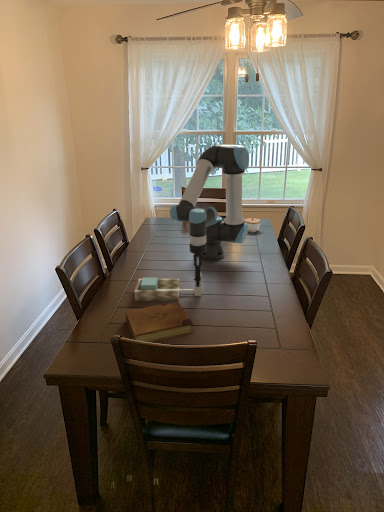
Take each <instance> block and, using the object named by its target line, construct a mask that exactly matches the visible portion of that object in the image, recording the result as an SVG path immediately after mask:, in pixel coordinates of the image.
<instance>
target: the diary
mask: <svg viewBox="0 0 384 512" xmlns="http://www.w3.org/2000/svg"><path fill="white" fill-rule="evenodd" d="M125 320H126V321H125V322H126V325H127V326H128V329H129V331H130V334H131V336H132V339H133V340H134V339H135V340H140V341H148V342H152V343H156V342H155V341H157V342H160V341H164V340H170V339H173V338H178V337H181V336H186V334H187V335H191V334H190V333H192V334H194V333H193V331H192V329H191V326H192V325H193V323H194V322H193V320H192V319H191V318H190V317H189V315H188V313H187V312H186V310H185V309H184V308H183V306H182V305H181V303H180V302H179V300H178V301H171V302H167V303H163V304H157V305H152V306H146V307H142V308H138V309H137V308H136V309H132V310H127V311H125Z"/></svg>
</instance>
